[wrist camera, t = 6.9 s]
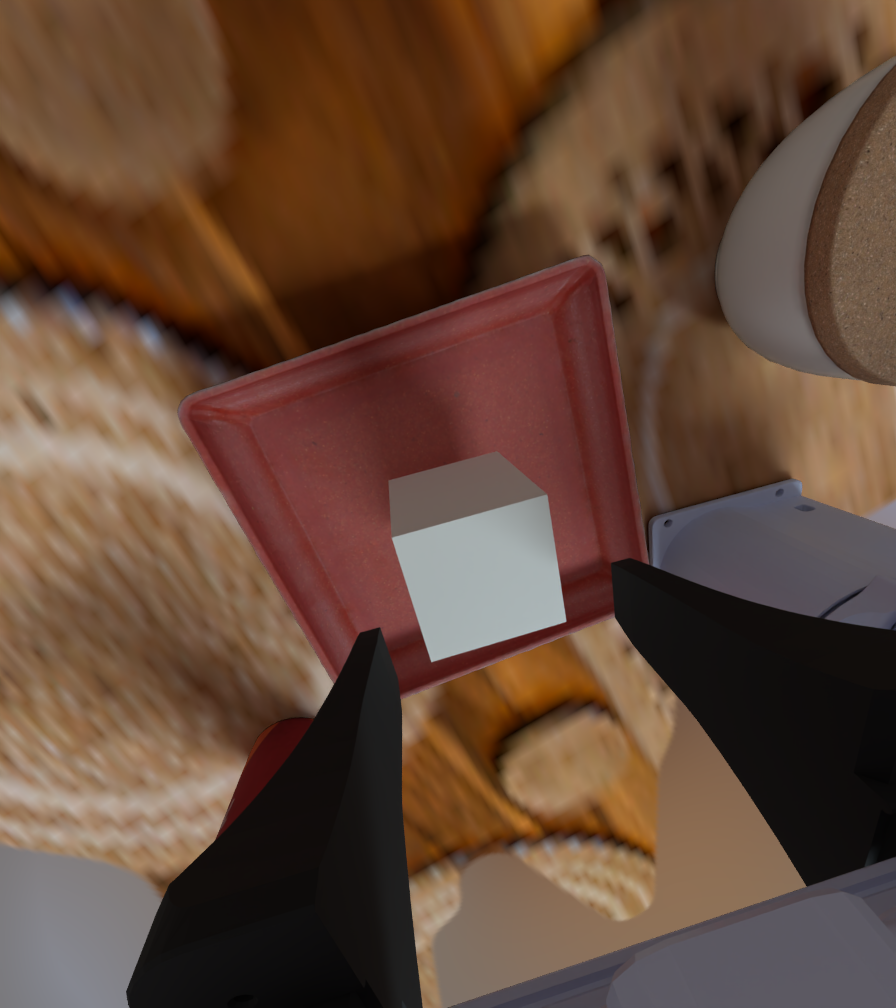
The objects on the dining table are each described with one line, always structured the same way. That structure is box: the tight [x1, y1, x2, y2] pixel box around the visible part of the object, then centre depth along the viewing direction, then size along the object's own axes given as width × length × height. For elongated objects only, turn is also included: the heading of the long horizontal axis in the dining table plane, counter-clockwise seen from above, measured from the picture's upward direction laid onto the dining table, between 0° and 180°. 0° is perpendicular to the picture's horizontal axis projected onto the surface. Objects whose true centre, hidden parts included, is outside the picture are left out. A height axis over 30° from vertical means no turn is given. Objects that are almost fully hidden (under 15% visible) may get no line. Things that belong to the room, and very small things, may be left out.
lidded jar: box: [715, 56, 896, 386], centre depth 16 cm, size 11×11×9 cm
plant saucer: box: [178, 255, 649, 699], centre depth 21 cm, size 18×18×3 cm
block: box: [388, 451, 566, 662], centre depth 16 cm, size 5×5×6 cm
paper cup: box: [216, 718, 314, 839], centre depth 20 cm, size 8×8×14 cm
